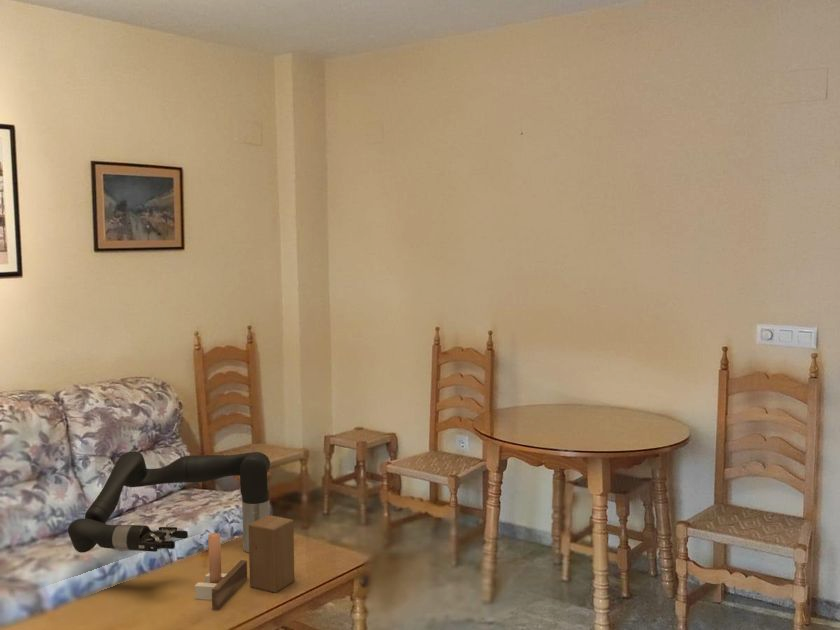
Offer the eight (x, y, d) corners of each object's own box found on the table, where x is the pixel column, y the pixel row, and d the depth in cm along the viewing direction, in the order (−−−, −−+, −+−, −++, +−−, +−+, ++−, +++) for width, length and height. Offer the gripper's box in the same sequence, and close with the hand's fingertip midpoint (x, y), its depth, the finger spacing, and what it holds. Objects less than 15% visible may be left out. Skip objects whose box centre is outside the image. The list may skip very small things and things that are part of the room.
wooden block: (249, 587, 253) (247, 524, 251) (269, 575, 262) (268, 514, 260) (275, 593, 248) (273, 529, 247) (295, 581, 257) (293, 519, 255)
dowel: (218, 588, 252) (217, 532, 250) (223, 592, 249) (222, 535, 247) (208, 592, 249) (206, 534, 248) (213, 596, 247) (211, 538, 245)
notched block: (195, 598, 245) (194, 585, 245) (208, 584, 255) (208, 572, 254) (220, 600, 244) (220, 587, 243) (233, 586, 253) (232, 574, 253)
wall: (212, 609, 238) (211, 589, 237) (241, 578, 259) (240, 560, 259) (218, 609, 237) (218, 589, 237) (247, 578, 259) (246, 560, 258)
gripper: (118, 533, 245) (169, 536, 242) (142, 517, 259) (190, 519, 256) (120, 558, 246) (170, 560, 243) (143, 540, 260) (191, 543, 257)
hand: (181, 539), depth 250 cm, fingers open, 8 cm apart
